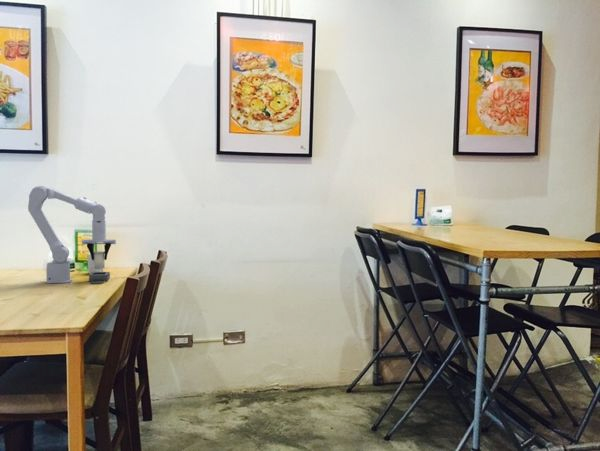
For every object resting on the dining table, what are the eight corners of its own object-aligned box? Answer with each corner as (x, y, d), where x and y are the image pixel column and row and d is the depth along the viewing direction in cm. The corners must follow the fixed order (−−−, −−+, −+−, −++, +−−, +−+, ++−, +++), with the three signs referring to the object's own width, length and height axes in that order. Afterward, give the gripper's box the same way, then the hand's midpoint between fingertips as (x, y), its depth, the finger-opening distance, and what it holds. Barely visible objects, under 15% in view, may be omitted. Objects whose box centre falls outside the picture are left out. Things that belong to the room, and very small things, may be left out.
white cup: (87, 272, 253) (86, 252, 252) (103, 271, 256) (103, 252, 256) (87, 275, 246) (87, 255, 245) (105, 274, 249) (104, 254, 248)
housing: (89, 281, 231) (88, 275, 231) (91, 278, 239) (91, 272, 238) (107, 281, 233) (107, 274, 233) (109, 277, 240) (109, 271, 240)
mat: (89, 284, 225) (89, 283, 225) (91, 281, 231) (91, 280, 231) (103, 284, 226) (103, 283, 226) (105, 281, 232) (105, 280, 232)
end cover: (92, 268, 232) (92, 252, 232) (94, 267, 237) (94, 251, 236) (104, 268, 233) (104, 252, 233) (105, 266, 238) (105, 251, 238)
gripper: (80, 231, 228) (80, 261, 229) (114, 231, 232) (114, 260, 233) (83, 229, 235) (83, 258, 236) (116, 229, 238) (116, 258, 240)
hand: (99, 259), depth 235 cm, fingers closed on end cover, 5 cm apart
